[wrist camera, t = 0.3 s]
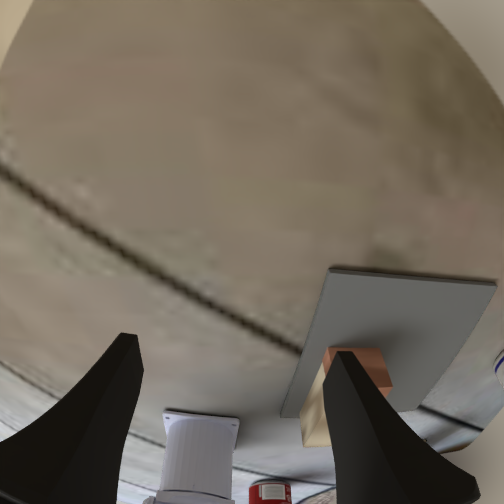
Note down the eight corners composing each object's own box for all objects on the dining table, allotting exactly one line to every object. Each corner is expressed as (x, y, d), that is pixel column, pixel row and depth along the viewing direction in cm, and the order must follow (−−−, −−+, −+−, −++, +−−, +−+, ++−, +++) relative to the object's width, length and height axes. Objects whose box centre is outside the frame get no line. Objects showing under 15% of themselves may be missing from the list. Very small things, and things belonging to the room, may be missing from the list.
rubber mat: (413, 406, 31) (414, 410, 31) (280, 413, 30) (280, 417, 30) (494, 282, 22) (497, 286, 22) (328, 268, 21) (329, 272, 21)
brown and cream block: (341, 411, 30) (348, 445, 26) (299, 412, 29) (302, 447, 26) (379, 347, 24) (393, 386, 21) (327, 347, 24) (336, 389, 21)
